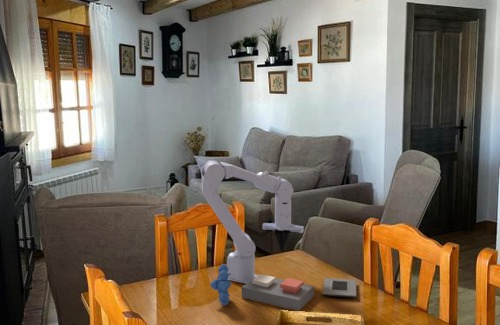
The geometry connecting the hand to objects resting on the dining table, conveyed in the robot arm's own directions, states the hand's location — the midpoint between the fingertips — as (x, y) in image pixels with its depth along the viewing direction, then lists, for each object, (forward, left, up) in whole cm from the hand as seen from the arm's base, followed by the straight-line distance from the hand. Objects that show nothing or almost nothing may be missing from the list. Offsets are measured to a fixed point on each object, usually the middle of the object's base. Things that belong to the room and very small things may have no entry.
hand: (282, 250), depth 177 cm
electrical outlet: (+22, -3, -10) cm, 25 cm away
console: (+6, -17, -9) cm, 21 cm away
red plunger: (+11, -17, -9) cm, 22 cm away
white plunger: (+1, -17, -9) cm, 20 cm away
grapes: (-8, -29, -10) cm, 32 cm away
